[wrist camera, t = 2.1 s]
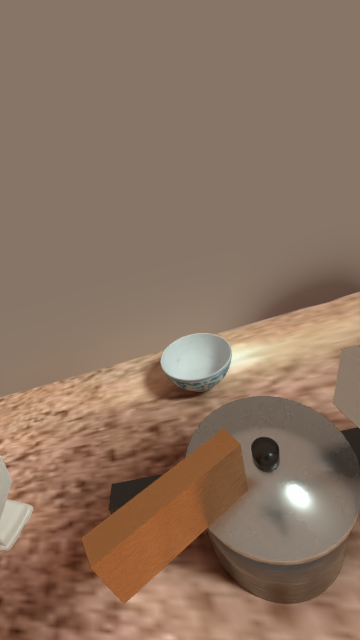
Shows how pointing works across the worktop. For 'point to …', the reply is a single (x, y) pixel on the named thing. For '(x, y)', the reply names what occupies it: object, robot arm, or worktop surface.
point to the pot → (258, 576)
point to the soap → (13, 522)
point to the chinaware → (197, 361)
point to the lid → (237, 495)
